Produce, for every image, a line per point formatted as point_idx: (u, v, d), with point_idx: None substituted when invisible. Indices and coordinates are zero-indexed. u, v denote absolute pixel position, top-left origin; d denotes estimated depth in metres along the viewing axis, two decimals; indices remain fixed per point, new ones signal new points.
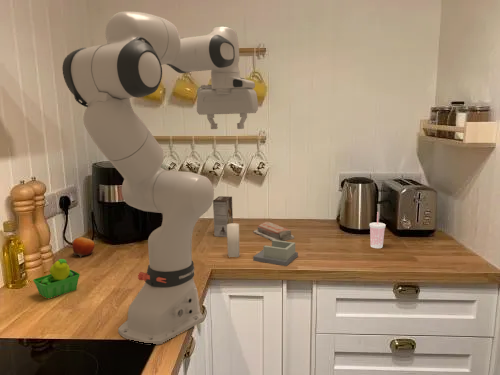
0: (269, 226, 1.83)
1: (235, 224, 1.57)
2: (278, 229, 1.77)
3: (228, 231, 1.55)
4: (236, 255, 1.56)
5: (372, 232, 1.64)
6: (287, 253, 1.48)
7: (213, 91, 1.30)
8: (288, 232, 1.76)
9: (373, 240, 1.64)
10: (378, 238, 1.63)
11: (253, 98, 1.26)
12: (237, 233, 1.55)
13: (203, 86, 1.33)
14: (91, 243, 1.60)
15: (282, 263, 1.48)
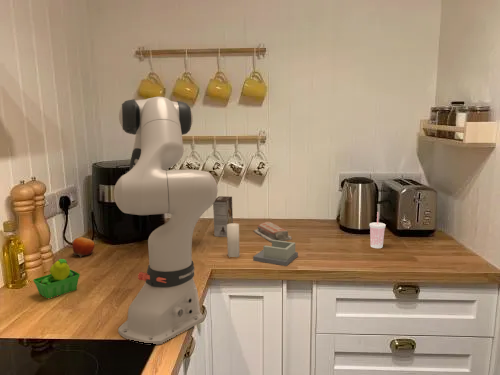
0: (268, 226, 1.83)
1: (235, 224, 1.57)
2: (275, 229, 1.77)
3: (228, 231, 1.55)
4: (236, 255, 1.56)
5: (372, 232, 1.64)
6: (287, 253, 1.48)
7: None
8: (285, 233, 1.75)
9: (373, 240, 1.64)
10: (378, 238, 1.63)
11: None
12: (237, 233, 1.55)
13: None
14: (91, 243, 1.60)
15: (282, 263, 1.48)
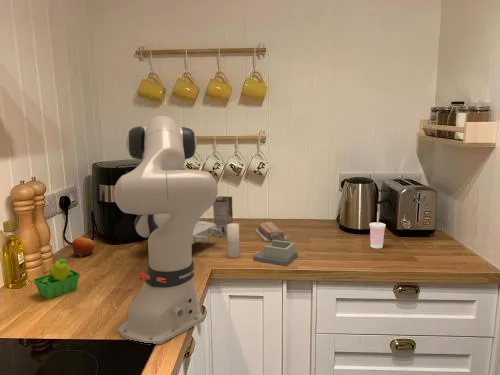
0: (267, 225, 1.83)
1: (235, 224, 1.57)
2: (271, 229, 1.77)
3: (228, 231, 1.55)
4: (236, 255, 1.56)
5: (372, 232, 1.64)
6: (287, 253, 1.48)
7: None
8: (280, 233, 1.74)
9: (373, 240, 1.64)
10: (378, 238, 1.63)
11: None
12: (237, 233, 1.55)
13: None
14: (91, 243, 1.60)
15: (282, 263, 1.48)
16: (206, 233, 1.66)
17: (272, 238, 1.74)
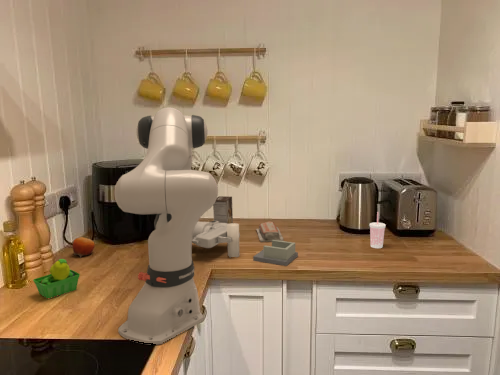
0: (266, 225, 1.83)
1: (235, 224, 1.57)
2: (268, 229, 1.77)
3: (228, 231, 1.55)
4: (236, 255, 1.56)
5: (372, 232, 1.64)
6: (287, 253, 1.48)
7: (203, 232, 1.58)
8: (275, 234, 1.74)
9: (373, 240, 1.64)
10: (378, 238, 1.63)
11: None
12: (237, 233, 1.55)
13: (193, 238, 1.56)
14: (91, 243, 1.60)
15: (282, 263, 1.48)
16: (226, 235, 1.62)
17: (267, 238, 1.74)
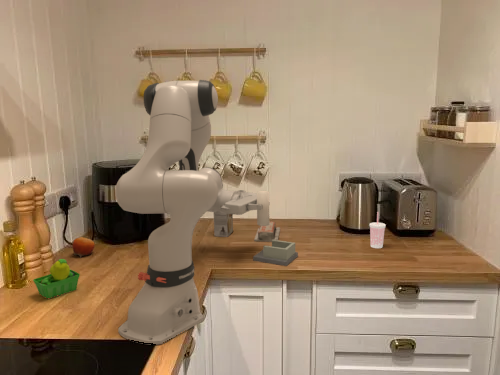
0: None
1: (265, 191, 1.52)
2: (263, 229, 1.77)
3: (258, 198, 1.50)
4: (266, 223, 1.51)
5: (372, 232, 1.64)
6: (287, 253, 1.48)
7: (232, 200, 1.53)
8: (269, 234, 1.74)
9: (373, 240, 1.64)
10: (378, 238, 1.63)
11: None
12: (267, 200, 1.50)
13: (222, 205, 1.50)
14: (91, 243, 1.60)
15: (282, 263, 1.48)
16: (255, 204, 1.57)
17: (261, 238, 1.74)
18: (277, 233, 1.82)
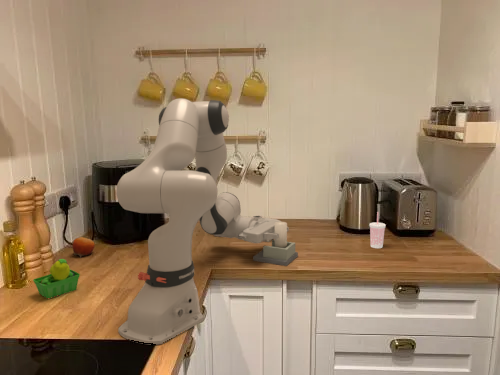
0: None
1: (283, 222, 1.52)
2: None
3: (276, 230, 1.50)
4: None
5: (372, 232, 1.64)
6: (287, 253, 1.48)
7: (250, 227, 1.53)
8: None
9: (373, 240, 1.64)
10: (378, 238, 1.63)
11: None
12: (285, 232, 1.50)
13: (240, 233, 1.51)
14: (91, 243, 1.60)
15: (282, 263, 1.48)
16: (272, 230, 1.57)
17: None
18: None
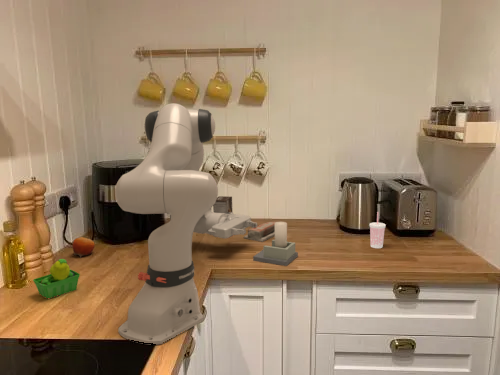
0: (263, 224, 1.85)
1: (283, 222, 1.52)
2: (255, 228, 1.79)
3: (276, 230, 1.50)
4: None
5: (372, 232, 1.64)
6: (287, 253, 1.48)
7: (219, 222, 1.59)
8: (256, 233, 1.75)
9: (373, 240, 1.64)
10: (378, 238, 1.63)
11: None
12: (285, 232, 1.51)
13: (209, 228, 1.57)
14: (91, 243, 1.60)
15: (282, 263, 1.48)
16: (242, 226, 1.63)
17: (249, 236, 1.77)
18: (272, 234, 1.81)
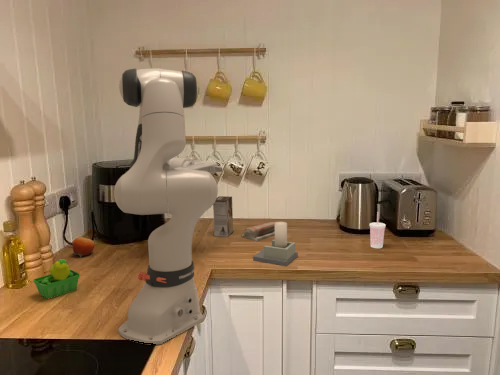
0: (263, 224, 1.85)
1: (283, 222, 1.52)
2: (252, 227, 1.81)
3: (276, 230, 1.50)
4: None
5: (372, 232, 1.64)
6: (287, 253, 1.48)
7: (183, 166, 1.54)
8: (251, 232, 1.77)
9: (373, 240, 1.64)
10: (378, 238, 1.63)
11: None
12: (285, 232, 1.51)
13: None
14: (91, 243, 1.60)
15: (282, 263, 1.48)
16: (207, 171, 1.57)
17: (245, 234, 1.80)
18: (270, 234, 1.81)
